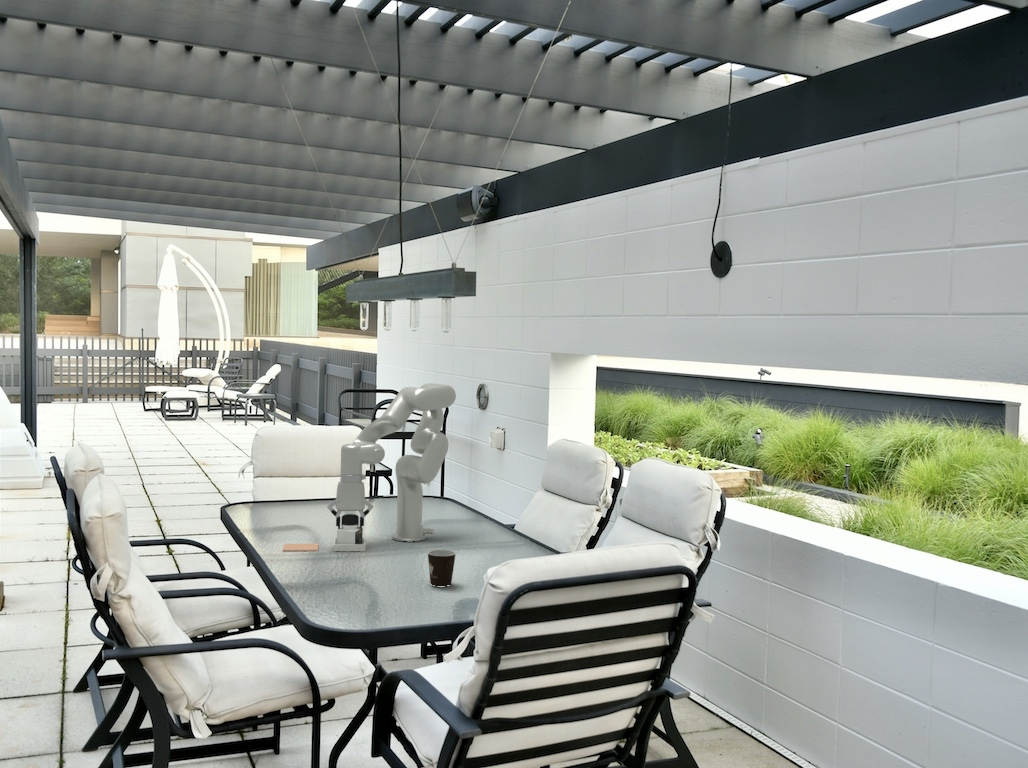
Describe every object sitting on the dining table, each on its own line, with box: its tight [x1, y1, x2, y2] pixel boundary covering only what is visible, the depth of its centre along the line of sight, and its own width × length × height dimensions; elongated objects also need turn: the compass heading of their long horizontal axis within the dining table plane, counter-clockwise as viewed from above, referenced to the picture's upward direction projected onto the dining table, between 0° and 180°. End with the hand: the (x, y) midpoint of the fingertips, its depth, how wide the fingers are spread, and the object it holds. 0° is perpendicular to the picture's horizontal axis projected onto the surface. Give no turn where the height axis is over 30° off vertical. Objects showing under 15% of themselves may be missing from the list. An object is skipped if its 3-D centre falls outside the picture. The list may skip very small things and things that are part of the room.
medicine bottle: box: [336, 513, 364, 544], centre depth 335 cm, size 7×7×12 cm
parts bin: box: [333, 537, 366, 552], centre depth 335 cm, size 11×11×2 cm
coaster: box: [281, 543, 320, 551], centre depth 332 cm, size 12×10×1 cm
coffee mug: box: [427, 549, 457, 586], centre depth 288 cm, size 12×9×10 cm
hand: (349, 527), depth 335 cm, fingers closed on medicine bottle, 7 cm apart
